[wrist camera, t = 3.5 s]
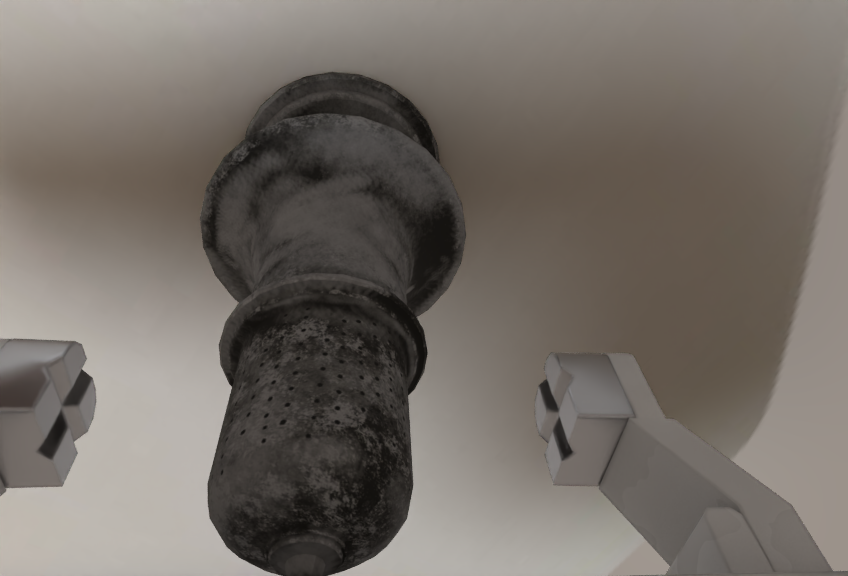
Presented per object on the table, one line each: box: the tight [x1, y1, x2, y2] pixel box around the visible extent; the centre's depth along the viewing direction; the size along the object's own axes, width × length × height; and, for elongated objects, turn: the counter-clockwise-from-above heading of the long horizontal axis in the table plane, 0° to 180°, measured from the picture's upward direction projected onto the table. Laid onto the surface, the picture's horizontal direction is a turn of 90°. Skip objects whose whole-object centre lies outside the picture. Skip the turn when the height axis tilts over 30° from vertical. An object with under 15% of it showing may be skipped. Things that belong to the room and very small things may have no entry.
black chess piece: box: [200, 72, 466, 576], centre depth 12 cm, size 6×6×12 cm
